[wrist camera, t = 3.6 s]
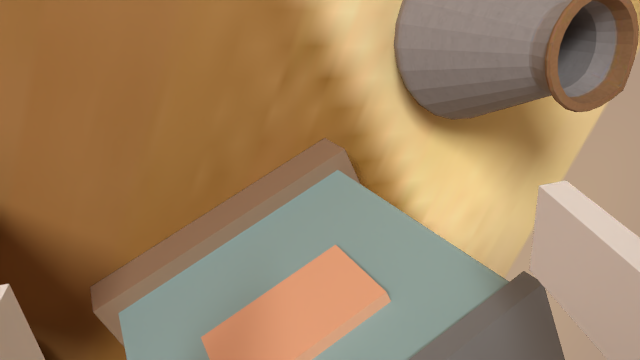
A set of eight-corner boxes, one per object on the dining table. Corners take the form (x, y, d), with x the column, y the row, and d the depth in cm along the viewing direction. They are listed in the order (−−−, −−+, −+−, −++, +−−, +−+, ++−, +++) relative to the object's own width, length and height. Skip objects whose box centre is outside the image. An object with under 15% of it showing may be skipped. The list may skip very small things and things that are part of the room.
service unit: (90, 287, 34) (124, 598, 17) (325, 138, 37) (550, 266, 20) (188, 400, 39) (288, 717, 22) (383, 260, 43) (596, 441, 26)
